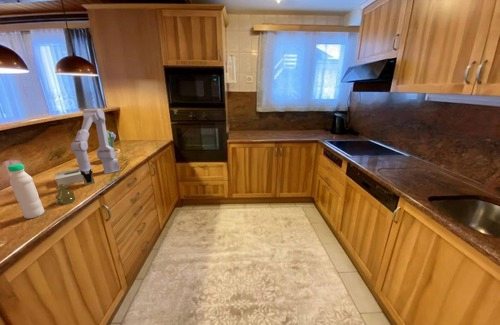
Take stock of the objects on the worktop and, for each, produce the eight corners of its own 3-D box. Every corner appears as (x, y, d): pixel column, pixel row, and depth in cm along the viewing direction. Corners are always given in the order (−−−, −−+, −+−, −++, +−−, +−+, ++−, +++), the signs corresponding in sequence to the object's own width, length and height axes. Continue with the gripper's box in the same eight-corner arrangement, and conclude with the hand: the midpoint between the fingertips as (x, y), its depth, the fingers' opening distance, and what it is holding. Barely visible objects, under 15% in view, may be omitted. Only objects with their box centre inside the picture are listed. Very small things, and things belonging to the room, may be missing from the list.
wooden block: (94, 181, 137) (92, 174, 135) (94, 183, 135) (92, 175, 133) (84, 184, 134) (82, 176, 132) (85, 185, 132) (82, 177, 130)
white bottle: (47, 213, 102) (29, 163, 94) (27, 221, 96) (5, 168, 88) (41, 209, 105) (23, 161, 97) (22, 216, 100) (0, 166, 91)
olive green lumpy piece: (64, 198, 116) (59, 181, 112) (79, 198, 116) (73, 181, 113) (53, 205, 109) (47, 187, 106) (69, 205, 109) (63, 187, 106)
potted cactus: (111, 164, 170) (103, 132, 162) (96, 162, 174) (87, 132, 165) (126, 158, 184) (120, 129, 176) (112, 157, 188) (105, 128, 180)
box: (87, 173, 150) (85, 167, 149) (90, 179, 140) (88, 172, 139) (57, 180, 140) (55, 173, 139) (58, 186, 131) (55, 179, 129)
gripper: (73, 159, 132) (80, 179, 136) (75, 165, 122) (82, 187, 126) (87, 157, 136) (93, 176, 141) (91, 162, 126) (96, 183, 130)
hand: (89, 181), depth 134 cm, fingers closed on wooden block, 2 cm apart
